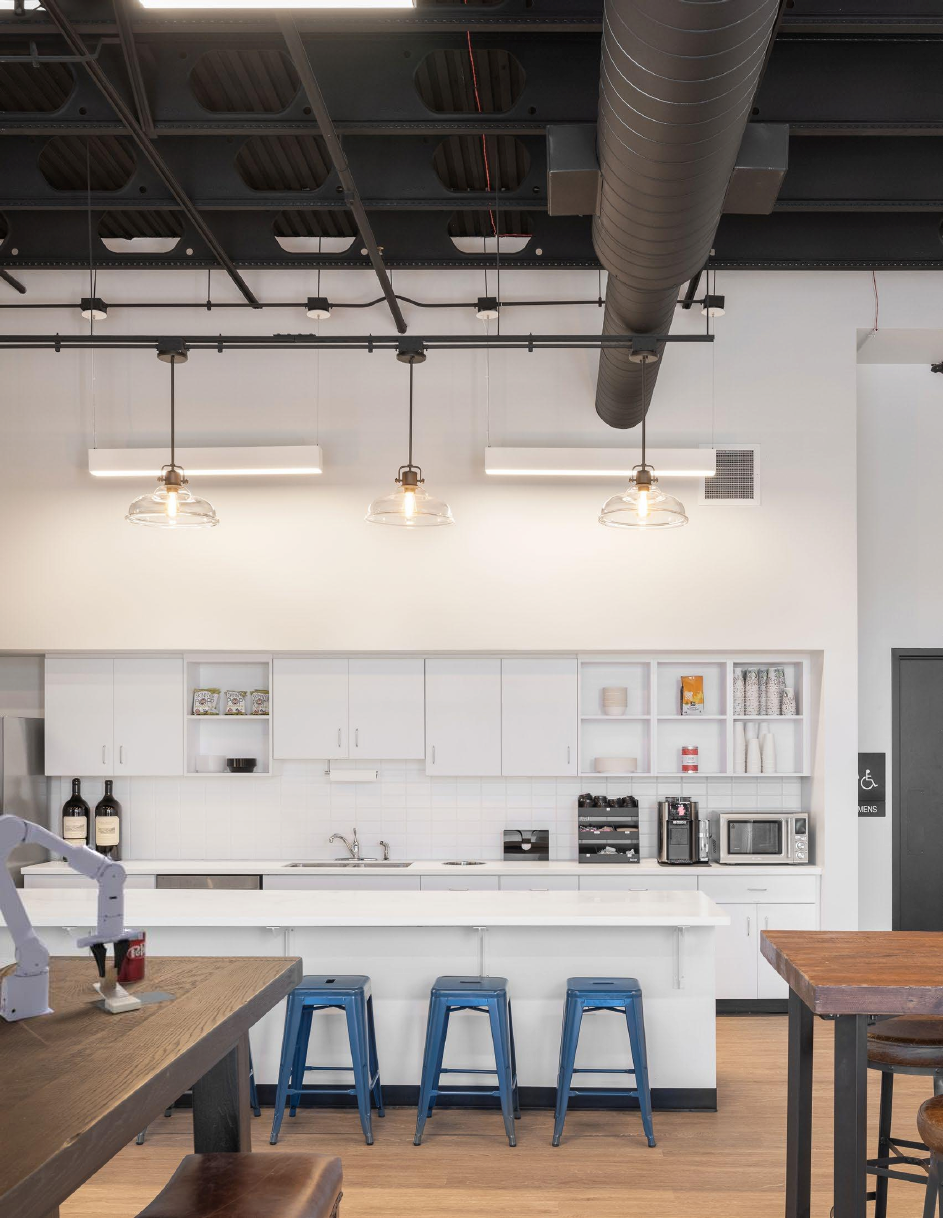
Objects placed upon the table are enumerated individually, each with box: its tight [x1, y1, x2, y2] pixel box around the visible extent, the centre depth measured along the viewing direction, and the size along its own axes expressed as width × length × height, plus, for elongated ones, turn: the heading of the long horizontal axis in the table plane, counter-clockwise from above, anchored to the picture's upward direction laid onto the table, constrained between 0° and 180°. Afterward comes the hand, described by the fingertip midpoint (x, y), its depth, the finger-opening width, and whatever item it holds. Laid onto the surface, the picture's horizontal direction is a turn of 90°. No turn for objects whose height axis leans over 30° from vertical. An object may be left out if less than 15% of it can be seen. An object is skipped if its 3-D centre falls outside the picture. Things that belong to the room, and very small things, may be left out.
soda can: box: [117, 928, 147, 984], centre depth 253 cm, size 7×7×12 cm
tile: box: [104, 995, 142, 1014], centre depth 227 cm, size 6×2×6 cm
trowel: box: [92, 963, 130, 1000], centre depth 233 cm, size 10×5×5 cm, turn 38°
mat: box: [92, 989, 178, 1012], centre depth 233 cm, size 16×10×1 cm, turn 128°
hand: (109, 975), depth 234 cm, fingers closed on trowel, 3 cm apart
